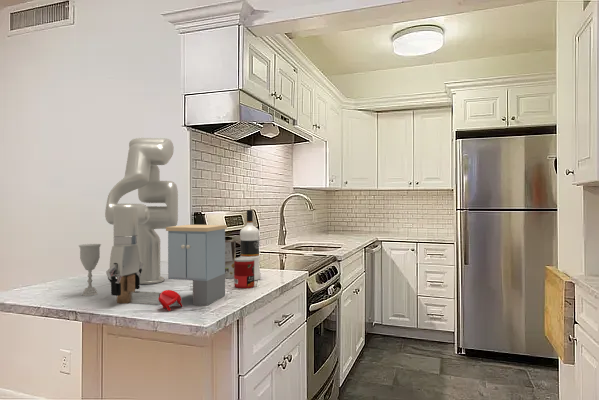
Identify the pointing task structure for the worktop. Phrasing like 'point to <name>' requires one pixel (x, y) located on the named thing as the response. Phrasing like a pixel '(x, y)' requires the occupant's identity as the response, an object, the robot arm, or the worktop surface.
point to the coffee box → (230, 258)
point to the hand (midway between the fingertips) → (125, 291)
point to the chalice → (89, 264)
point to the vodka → (250, 243)
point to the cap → (169, 298)
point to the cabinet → (198, 259)
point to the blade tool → (135, 293)
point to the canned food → (244, 272)
